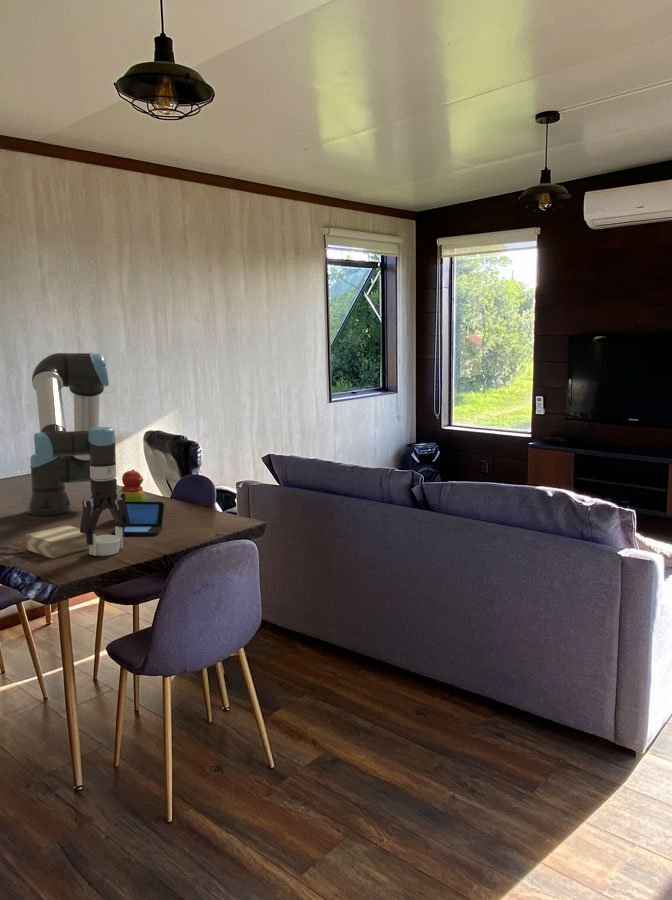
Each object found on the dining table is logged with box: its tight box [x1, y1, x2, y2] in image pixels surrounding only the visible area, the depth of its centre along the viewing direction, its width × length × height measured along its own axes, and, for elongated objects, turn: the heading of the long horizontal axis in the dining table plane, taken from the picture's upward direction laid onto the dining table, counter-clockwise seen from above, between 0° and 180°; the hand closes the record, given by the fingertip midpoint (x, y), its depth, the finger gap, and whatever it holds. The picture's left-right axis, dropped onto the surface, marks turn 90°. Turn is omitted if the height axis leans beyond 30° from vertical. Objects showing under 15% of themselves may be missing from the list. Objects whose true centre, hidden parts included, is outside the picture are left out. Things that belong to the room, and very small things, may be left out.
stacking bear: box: [119, 469, 146, 502], centre depth 251 cm, size 11×10×18 cm
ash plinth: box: [25, 524, 89, 559], centre depth 214 cm, size 14×14×5 cm
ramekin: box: [96, 534, 120, 557], centre depth 211 cm, size 9×9×4 cm
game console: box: [110, 501, 165, 537], centre depth 235 cm, size 16×14×9 cm
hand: (106, 550), depth 211 cm, fingers closed on ramekin, 9 cm apart
